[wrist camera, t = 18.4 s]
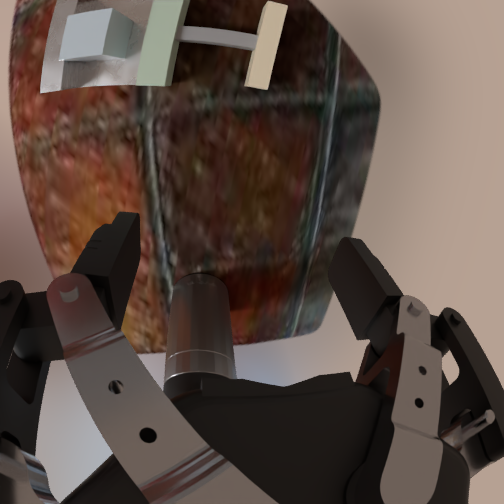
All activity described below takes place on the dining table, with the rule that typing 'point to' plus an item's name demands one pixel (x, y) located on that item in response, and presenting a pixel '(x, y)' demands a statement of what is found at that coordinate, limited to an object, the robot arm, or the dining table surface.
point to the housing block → (96, 36)
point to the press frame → (95, 72)
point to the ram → (205, 42)
